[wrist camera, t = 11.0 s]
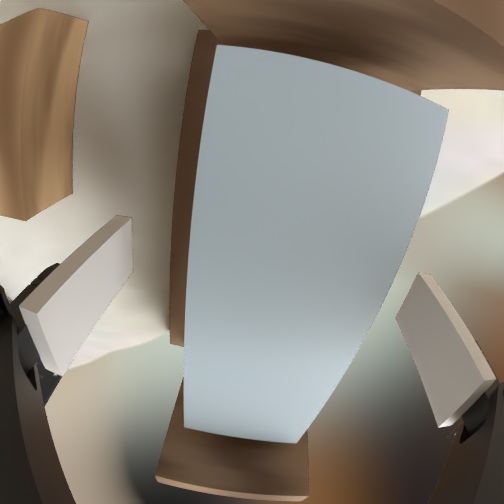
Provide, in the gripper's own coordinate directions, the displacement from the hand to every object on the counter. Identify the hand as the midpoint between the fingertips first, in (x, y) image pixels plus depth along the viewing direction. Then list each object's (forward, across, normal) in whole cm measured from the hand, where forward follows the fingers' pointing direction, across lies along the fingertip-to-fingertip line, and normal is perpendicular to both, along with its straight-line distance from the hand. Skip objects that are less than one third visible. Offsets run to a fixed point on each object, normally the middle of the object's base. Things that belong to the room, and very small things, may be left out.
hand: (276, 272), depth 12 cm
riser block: (+5, -16, +6) cm, 18 cm away
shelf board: (-1, 0, 0) cm, 1 cm away
